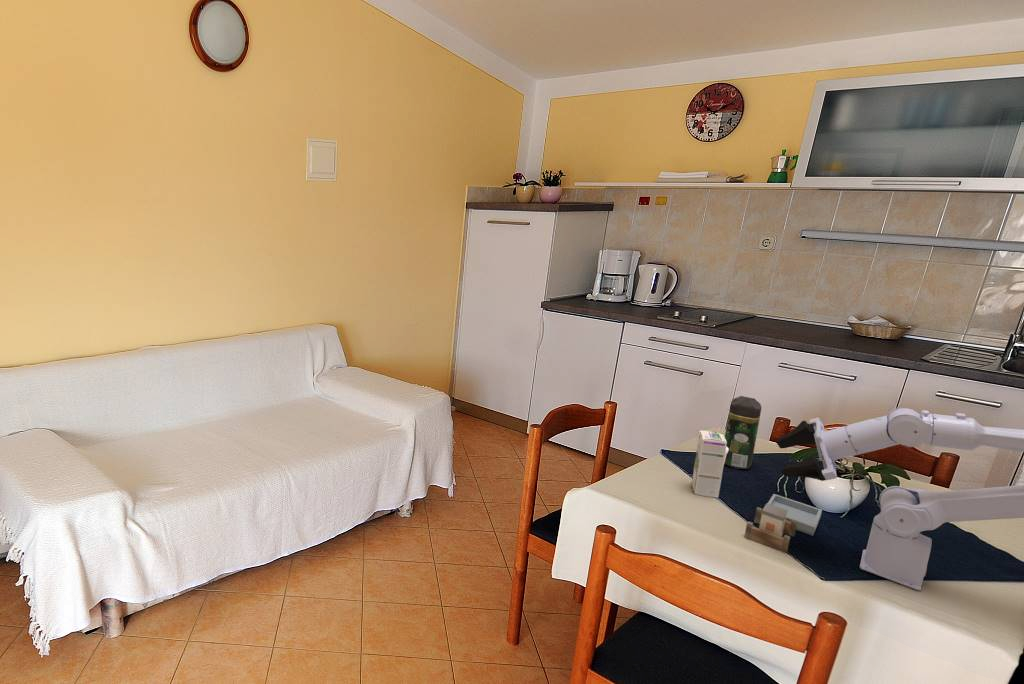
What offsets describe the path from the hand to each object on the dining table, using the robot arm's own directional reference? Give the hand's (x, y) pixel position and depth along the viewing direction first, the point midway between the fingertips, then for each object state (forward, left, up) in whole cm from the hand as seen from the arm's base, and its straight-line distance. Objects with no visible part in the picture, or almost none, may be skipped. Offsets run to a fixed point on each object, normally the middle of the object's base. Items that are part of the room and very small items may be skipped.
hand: (780, 458), depth 110 cm
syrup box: (+16, -8, -17) cm, 24 cm away
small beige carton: (-1, +2, -17) cm, 17 cm away
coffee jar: (+15, -32, -17) cm, 39 cm away
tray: (-3, -10, -16) cm, 19 cm away
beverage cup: (+17, -16, -17) cm, 28 cm away
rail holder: (-1, +2, -16) cm, 17 cm away
